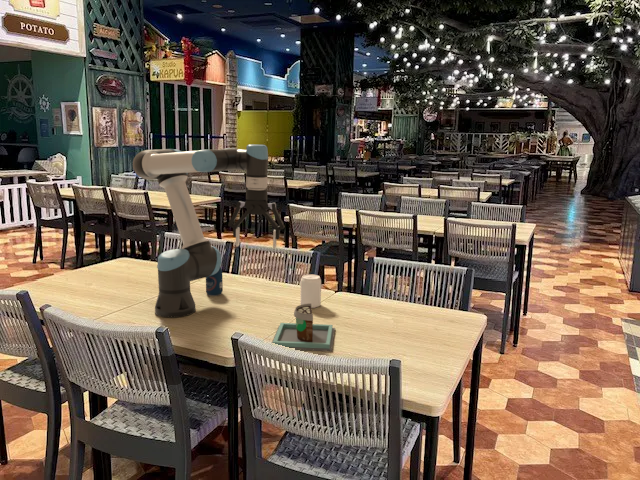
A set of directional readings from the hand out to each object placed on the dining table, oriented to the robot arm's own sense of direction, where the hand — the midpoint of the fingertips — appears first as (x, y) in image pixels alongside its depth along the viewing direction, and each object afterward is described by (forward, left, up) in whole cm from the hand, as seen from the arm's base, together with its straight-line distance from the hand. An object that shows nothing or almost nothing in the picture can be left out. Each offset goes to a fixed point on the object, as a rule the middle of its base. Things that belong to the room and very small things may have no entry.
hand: (256, 246), depth 206 cm
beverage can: (+18, +18, -28) cm, 37 cm away
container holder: (+19, -18, -27) cm, 38 cm away
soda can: (-24, +29, -28) cm, 46 cm away
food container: (+19, -18, -27) cm, 38 cm away
